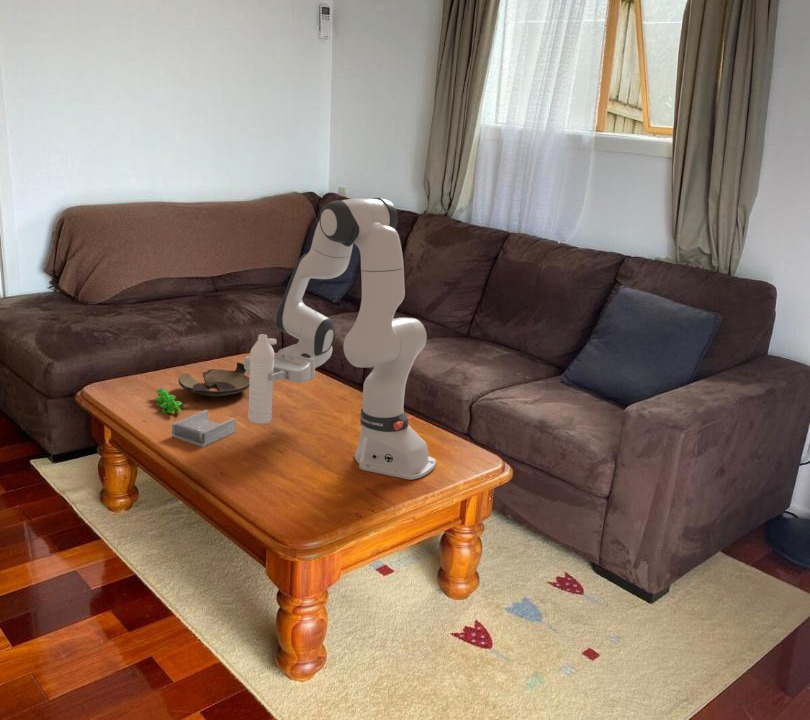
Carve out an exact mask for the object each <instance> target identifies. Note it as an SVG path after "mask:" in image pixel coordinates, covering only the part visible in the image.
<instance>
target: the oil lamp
mask: <svg viewBox="0 0 810 720" xmlns="http://www.w3.org/2000/svg"><path fill="white" fill-rule="evenodd" d="M202 376H203V380H204V383H205V386H204V385H203V384H201V383H200V382H199V381H197V380H196V379H194V377H192V376H191V375H190V374H189V373H184V374H182V375H181V376H179V377H178V385H179V386H180V387H181V388H182V389H183V391H188V392H191V393H194V394H198V395H201V396H206V397H227V396H231V395H235V394H238V393H240V392H242V391H246V390H247V389H249V385H250V384H249V379H250V376H247V374H246V369H244V361H238V362H236V368H235V369H234V370H227V369H213V368H211V369H208V370H207V371H204V372H202ZM214 387H216V388H217V389H218V390H210V388H214Z"/></svg>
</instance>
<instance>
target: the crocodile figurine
mask: <svg viewBox="0 0 810 720" xmlns="http://www.w3.org/2000/svg"><path fill="white" fill-rule="evenodd" d="M155 392H156V393H157V395H158V396H156V397H155V398H154V401H155V402H157V403H156V406H157V405H158V406H157V407H160V408H161V412H162V411H163V413H165V412H167V413H169V414H171V415H175V414H176V413H175V412H177V413H178V414H181V413H182V410H181V406H182V405H183V403H182V401H180V400H176V399H177V396H176V395H174V394H169V393H170V392H168V390H167V389H166V388H163V387H161V388H158V389H156V390H155Z"/></svg>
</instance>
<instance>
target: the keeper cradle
mask: <svg viewBox="0 0 810 720" xmlns="http://www.w3.org/2000/svg"><path fill="white" fill-rule="evenodd" d="M234 433H236V418H234V417H232V418H230V419H228V420H225V421H223V422H221V423H218V422H217V421H212V420H209V410H208V409H203V410H201V411H198V412H197V413H195V414H192V415H189V416H186V417H185V418H182V419H180V420H177V421H175V422H173V423H171V437H172V438H173V437H174V439H176V438H177V439H176V440H179V439H180V441H182V440H184V441H183V442H185V441H186V443H188V442H189V443H188V444H191V445H194V444H195V445H194V446H197V445H198V447H200V448H204V447H206V446H208V445H211V444H212V443H214V442H216V441H219V440H221V439H223V438H225V437H228V436H229V435H232V434H234Z"/></svg>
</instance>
